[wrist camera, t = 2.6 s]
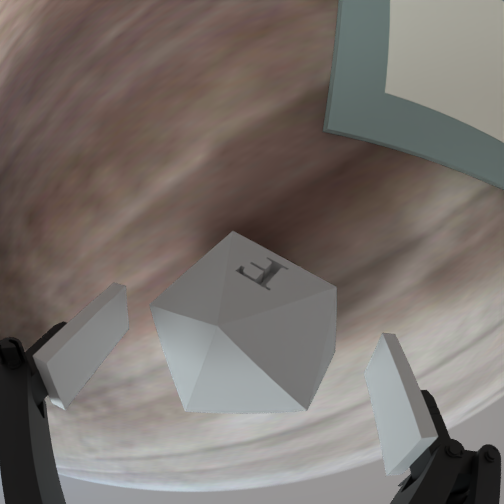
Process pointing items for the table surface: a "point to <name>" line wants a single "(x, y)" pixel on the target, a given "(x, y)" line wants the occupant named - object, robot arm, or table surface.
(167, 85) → the table surface
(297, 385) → the die
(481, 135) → the base board
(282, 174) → the table surface
